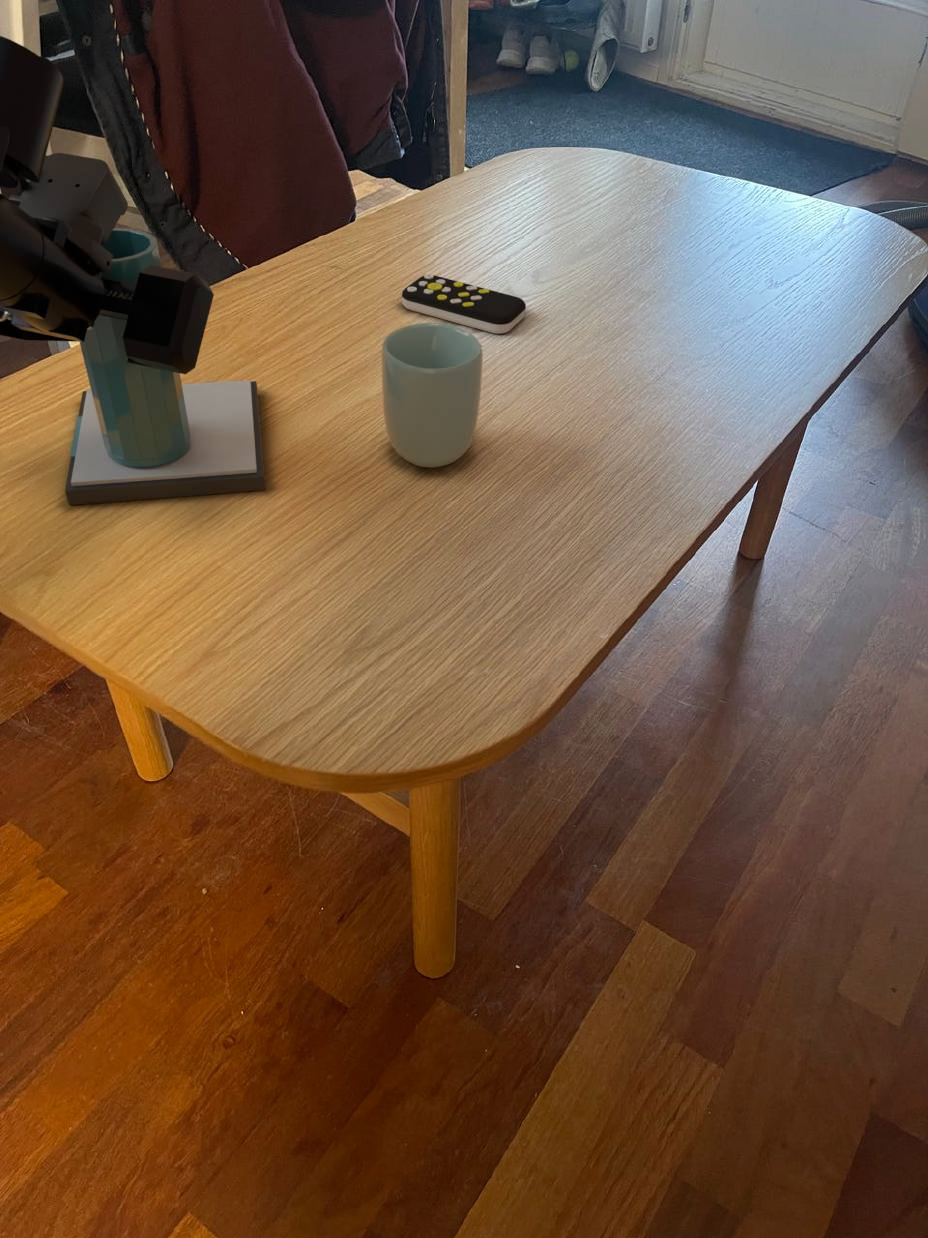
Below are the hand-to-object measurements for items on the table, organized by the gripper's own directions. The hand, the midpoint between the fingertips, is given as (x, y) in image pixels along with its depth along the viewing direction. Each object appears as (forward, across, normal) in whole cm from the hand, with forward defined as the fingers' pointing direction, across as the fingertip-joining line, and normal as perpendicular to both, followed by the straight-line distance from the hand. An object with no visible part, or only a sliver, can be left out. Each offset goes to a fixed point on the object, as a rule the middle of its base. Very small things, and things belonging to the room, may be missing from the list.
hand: (138, 343), depth 72 cm
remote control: (+32, -15, -18) cm, 40 cm away
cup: (+13, -21, +1) cm, 25 cm away
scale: (+8, 0, +6) cm, 10 cm away
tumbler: (+5, 0, +7) cm, 8 cm away
